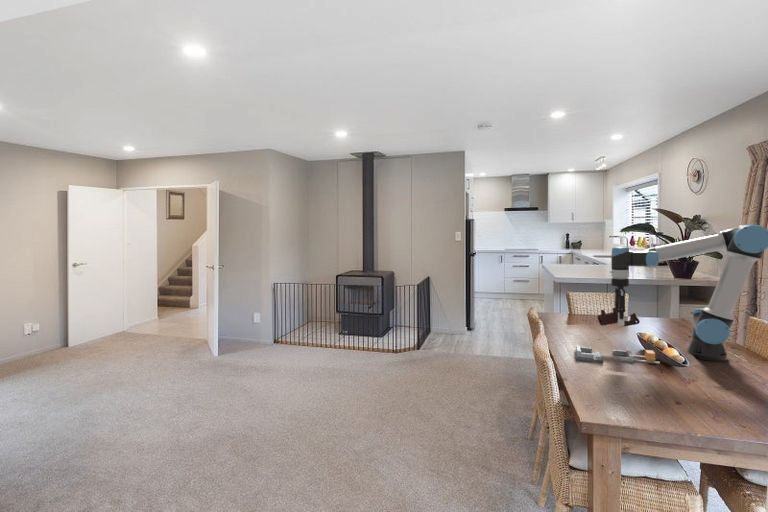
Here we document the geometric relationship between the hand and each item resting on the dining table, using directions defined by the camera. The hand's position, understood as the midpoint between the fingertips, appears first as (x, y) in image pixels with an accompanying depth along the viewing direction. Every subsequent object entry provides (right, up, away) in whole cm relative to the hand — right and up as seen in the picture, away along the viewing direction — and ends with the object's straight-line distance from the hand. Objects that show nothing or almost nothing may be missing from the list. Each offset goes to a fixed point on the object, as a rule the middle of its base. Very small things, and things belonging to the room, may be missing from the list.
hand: (619, 323), depth 203 cm
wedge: (+5, -14, -16) cm, 22 cm away
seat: (-8, -16, -10) cm, 20 cm away
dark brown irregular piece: (-1, -1, +1) cm, 2 cm away
